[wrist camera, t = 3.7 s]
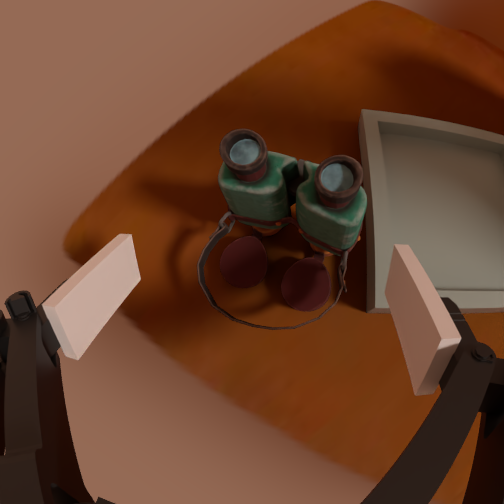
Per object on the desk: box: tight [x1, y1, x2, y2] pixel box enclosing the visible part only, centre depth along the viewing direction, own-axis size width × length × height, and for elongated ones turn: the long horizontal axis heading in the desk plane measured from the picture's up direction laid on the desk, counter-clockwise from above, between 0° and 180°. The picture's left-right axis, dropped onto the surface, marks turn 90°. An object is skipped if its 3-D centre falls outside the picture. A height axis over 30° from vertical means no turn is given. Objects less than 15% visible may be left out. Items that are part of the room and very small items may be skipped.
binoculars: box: [197, 129, 367, 330], centre depth 18 cm, size 9×11×10 cm
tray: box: [358, 109, 504, 313], centre depth 20 cm, size 16×16×2 cm
